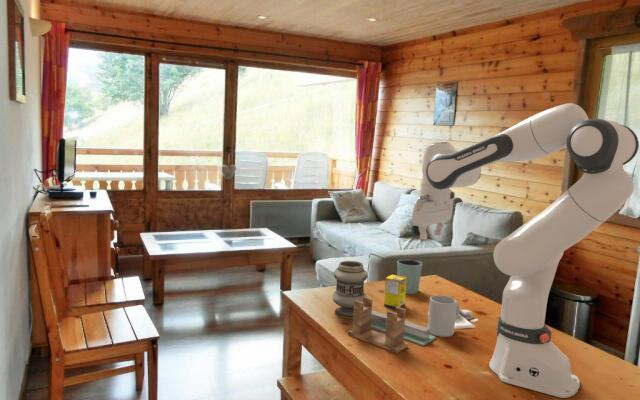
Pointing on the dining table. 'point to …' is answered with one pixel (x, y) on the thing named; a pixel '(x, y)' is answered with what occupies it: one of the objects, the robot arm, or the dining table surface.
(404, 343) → the rack
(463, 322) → the cloth
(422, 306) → the dining table surface
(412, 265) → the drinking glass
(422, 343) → the mat
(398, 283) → the supplement box
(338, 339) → the dining table surface
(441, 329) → the mug
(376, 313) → the rail
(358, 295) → the apothecary jar
